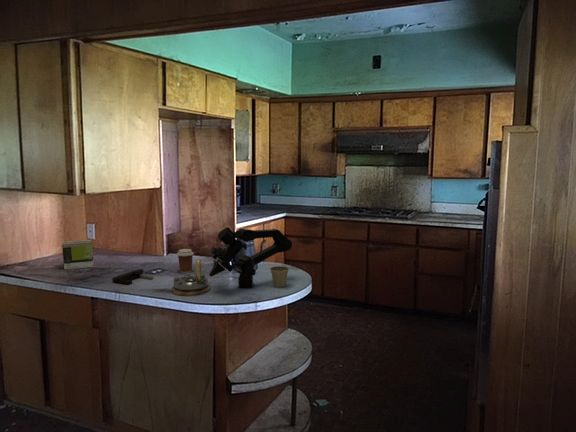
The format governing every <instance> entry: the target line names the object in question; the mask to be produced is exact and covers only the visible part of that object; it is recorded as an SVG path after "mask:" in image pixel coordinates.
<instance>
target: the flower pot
mask: <svg viewBox="0 0 576 432" xmlns="http://www.w3.org/2000/svg"><path fill="white" fill-rule="evenodd" d="M269 270H270V273H271V276H272V278H271V279H272V285H273V287H276V288H284V287H286V285H287V279H288V273H289V270H290V268H289V267H288V266H284V265H283V266H282V265H279V266H278V265H276V266H275V265H274V266H272V267H270V268H269Z"/></svg>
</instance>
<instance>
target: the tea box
mask: <svg viewBox="0 0 576 432" xmlns="http://www.w3.org/2000/svg"><path fill="white" fill-rule="evenodd" d="M61 248H62V257H63V258H62V260H63V267H64V268H63V269H64V270H72V269H75V270H77V269H83V268H84V269H85V268H93V267H94V263H95V262H94V261H95V260H94V251H93V240H92V239H82V240H70V241H69V240H68V241H67V240H66V241H63V243H62V244H61Z"/></svg>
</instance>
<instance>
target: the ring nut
mask: <svg viewBox="0 0 576 432" xmlns="http://www.w3.org/2000/svg"><path fill="white" fill-rule="evenodd" d="M201 261H202V260H201V259H197V260H195V275H191V274H189V273H185V276H181V277H178V276H177V277H175V276H174V278H173V286H174V289H175V290H178V291H184V292H191V291H199V290H203V289H205V288H207V287H208V284H209V278H208V277H206V276H205V274H202V263H201Z"/></svg>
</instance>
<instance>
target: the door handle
mask: <svg viewBox="0 0 576 432" xmlns="http://www.w3.org/2000/svg"><path fill="white" fill-rule="evenodd" d="M143 273H144V269H143V268H139V269H138V268H137V269H136V270H132V271H129V272H126V273H123V274H120V275H117V276H113V277H112V281H111V282H113V283H118V284H121V285H126V286H129V285H132V283H133V281H135V280H139V279H142V280H147V281H148V280H149V281H153V280H154V276H150V275H146V274H143Z"/></svg>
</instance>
